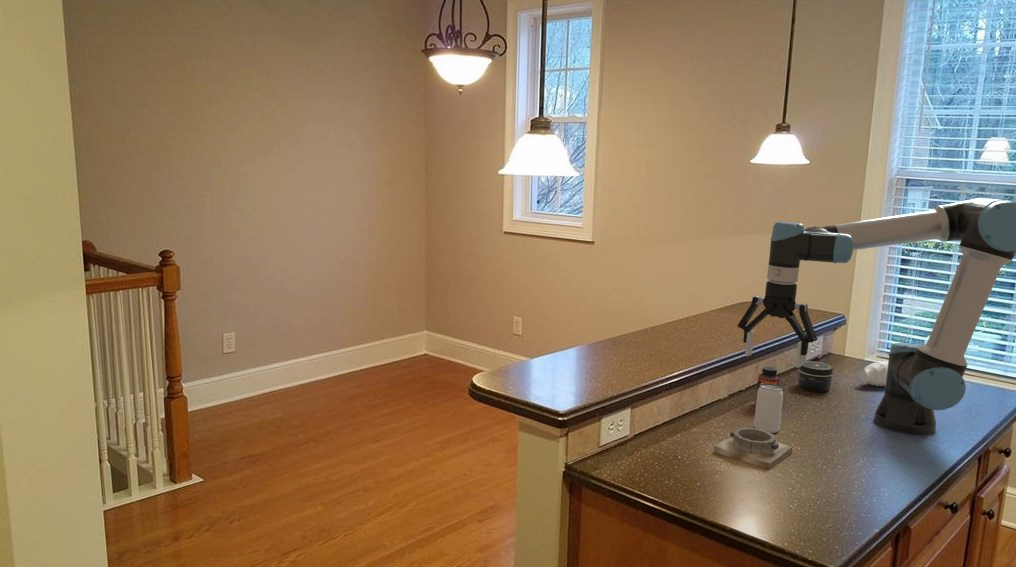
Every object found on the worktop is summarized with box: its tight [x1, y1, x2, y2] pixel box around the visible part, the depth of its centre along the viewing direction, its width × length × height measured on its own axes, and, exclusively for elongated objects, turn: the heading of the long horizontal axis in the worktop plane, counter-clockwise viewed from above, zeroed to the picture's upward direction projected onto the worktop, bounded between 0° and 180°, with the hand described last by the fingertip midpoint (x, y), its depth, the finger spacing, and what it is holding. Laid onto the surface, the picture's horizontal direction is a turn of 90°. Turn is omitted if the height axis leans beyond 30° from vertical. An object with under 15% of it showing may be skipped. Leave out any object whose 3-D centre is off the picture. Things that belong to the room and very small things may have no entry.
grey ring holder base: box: [713, 427, 793, 470], centre depth 182 cm, size 14×14×4 cm
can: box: [753, 383, 784, 434], centre depth 197 cm, size 6×6×12 cm
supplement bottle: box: [755, 366, 780, 402], centre depth 216 cm, size 6×6×11 cm
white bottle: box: [857, 360, 889, 387], centre depth 240 cm, size 8×19×8 cm, turn 110°
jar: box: [797, 360, 834, 393], centre depth 235 cm, size 10×10×8 cm
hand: (772, 360), depth 195 cm, fingers open, 13 cm apart
